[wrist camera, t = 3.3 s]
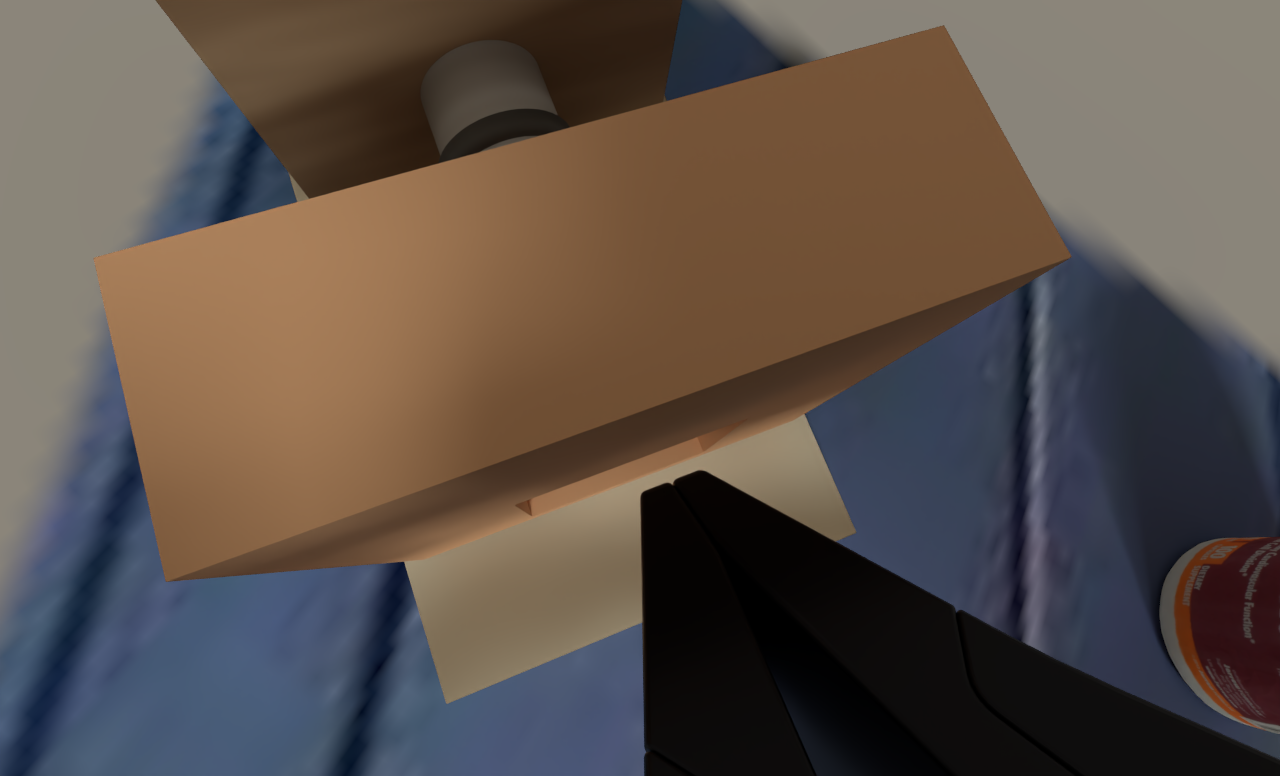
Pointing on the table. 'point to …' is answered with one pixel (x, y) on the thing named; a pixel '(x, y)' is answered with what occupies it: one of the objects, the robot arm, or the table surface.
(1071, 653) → the table surface
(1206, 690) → the pill bottle
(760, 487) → the pipe board
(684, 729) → the robot arm
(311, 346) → the wooden board
